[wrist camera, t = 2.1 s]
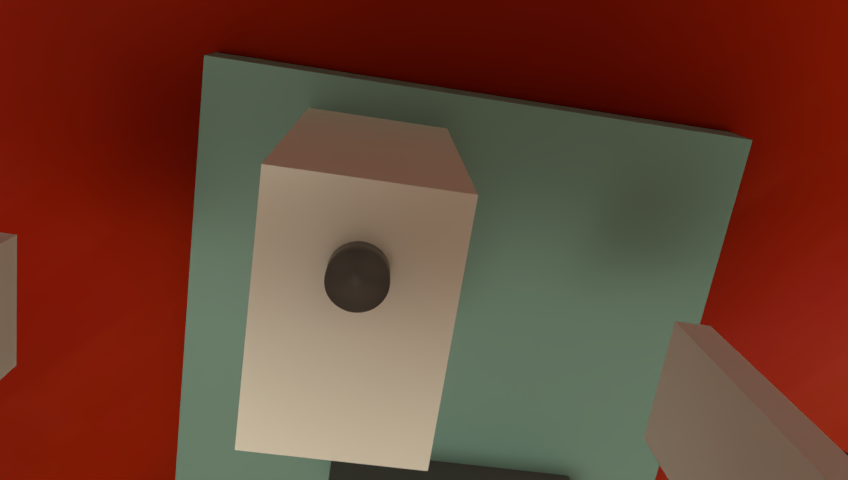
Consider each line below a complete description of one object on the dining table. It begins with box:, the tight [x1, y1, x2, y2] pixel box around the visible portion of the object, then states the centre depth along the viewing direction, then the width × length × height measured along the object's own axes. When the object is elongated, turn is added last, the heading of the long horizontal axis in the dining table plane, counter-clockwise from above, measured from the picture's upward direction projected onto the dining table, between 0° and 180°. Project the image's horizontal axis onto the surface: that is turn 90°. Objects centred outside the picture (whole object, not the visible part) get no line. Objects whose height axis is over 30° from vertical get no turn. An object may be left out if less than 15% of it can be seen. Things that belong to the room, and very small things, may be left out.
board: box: [175, 52, 752, 480], centre depth 24 cm, size 23×16×4 cm
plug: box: [235, 108, 478, 471], centre depth 18 cm, size 7×4×9 cm, turn 171°
